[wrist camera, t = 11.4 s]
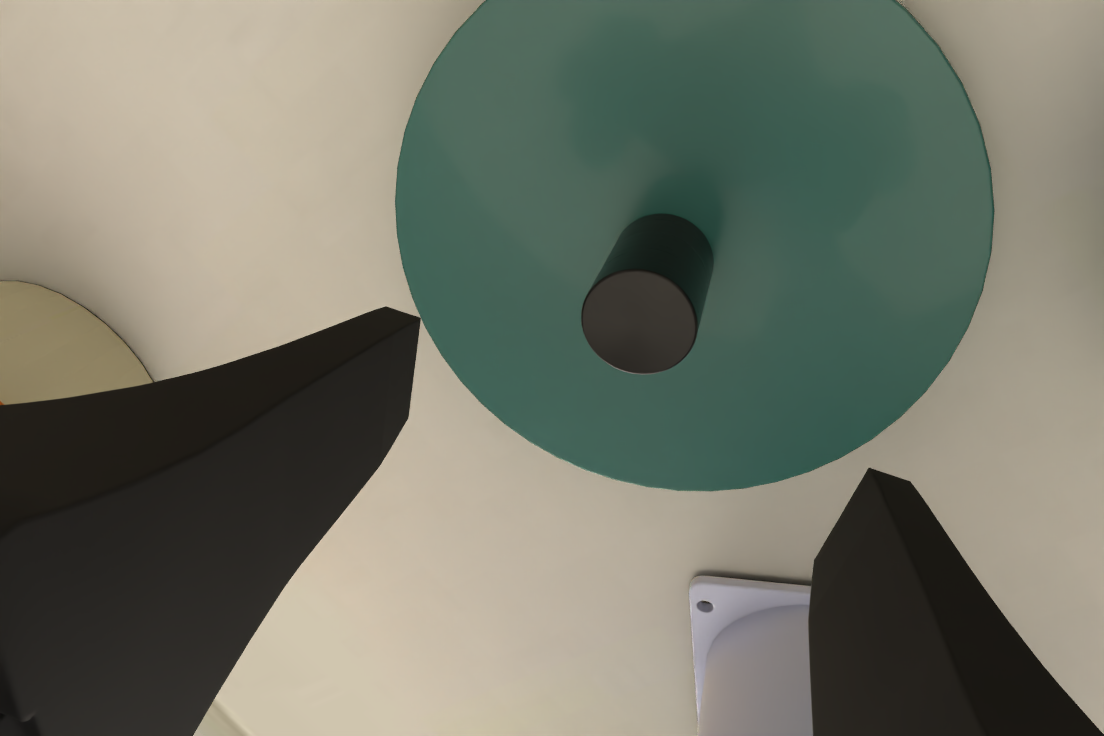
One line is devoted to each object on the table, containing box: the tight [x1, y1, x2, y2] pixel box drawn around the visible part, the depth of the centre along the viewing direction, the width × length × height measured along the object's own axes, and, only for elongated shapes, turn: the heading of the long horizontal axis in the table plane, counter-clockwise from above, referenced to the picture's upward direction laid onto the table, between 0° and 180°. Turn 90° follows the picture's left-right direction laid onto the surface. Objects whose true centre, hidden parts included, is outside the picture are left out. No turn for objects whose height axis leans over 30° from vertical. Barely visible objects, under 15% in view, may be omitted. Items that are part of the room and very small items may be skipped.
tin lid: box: [395, 0, 994, 491], centre depth 17 cm, size 14×14×4 cm
